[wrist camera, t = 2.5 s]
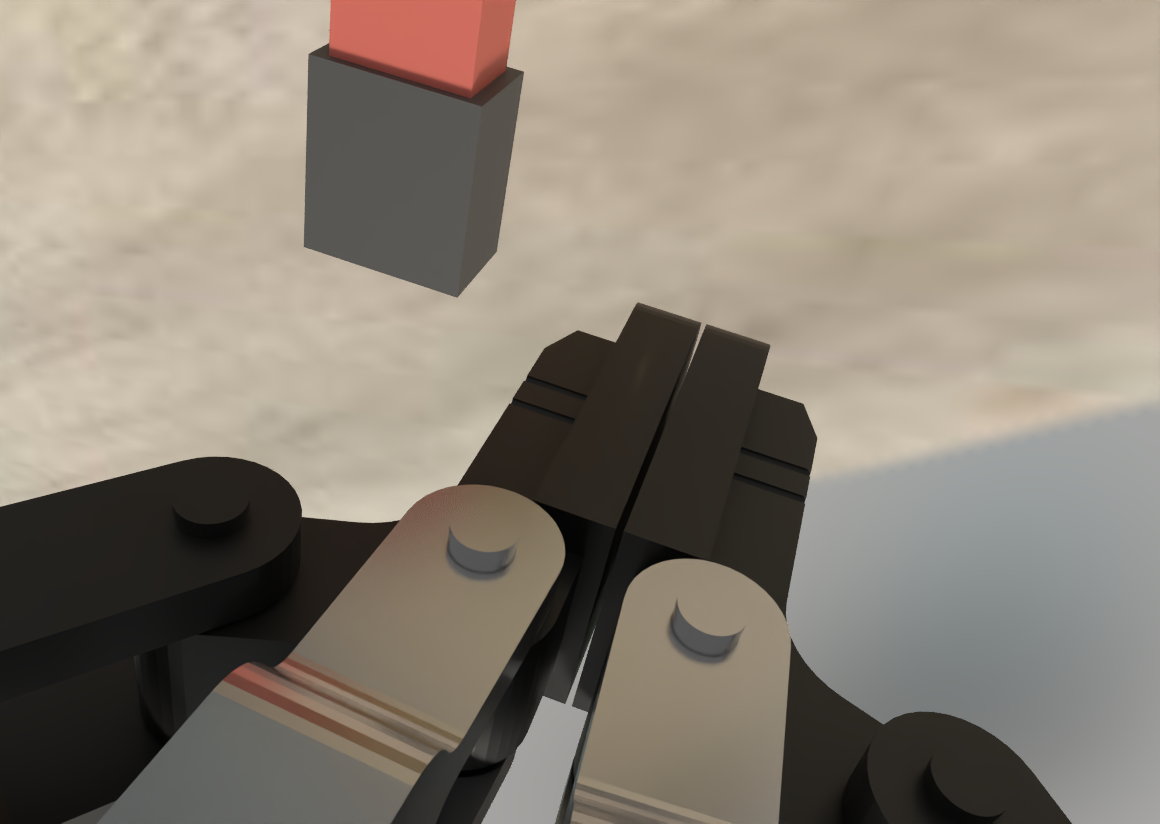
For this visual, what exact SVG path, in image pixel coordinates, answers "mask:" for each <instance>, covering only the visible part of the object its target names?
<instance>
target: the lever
mask: <svg viewBox="0 0 1160 824" xmlns="http://www.w3.org/2000/svg"><path fill="white" fill-rule="evenodd" d="M515 3H516V0H331V13H330V41H329V43H328V44H327V45H325V46H323V47H321V48H319V49H317V50H315V51H313V52H312V53H310V54H309V59H308V100H307V141H306V183H305V224H304V247H306V248H309V249H312V250H315V251H318V252H321V253H324V254H327V255H330V256H333V257H336V258H339V259H342V260H345V261H348V262H351V263H354V264H357V265H360V266H363V267H366V268H369V269H372V270H375V271H378V272H382V273H385V274H388V275H391V276H394V277H397V278H400V279H403V280H406V281H409V282H412V283H415V284H418V285H421V286H424V287H427V288H430V289H433V290H436V291H439V292H442V293H445V294H448V295H451V296H454V297H458V296H459V295H460V294H461V293H462V291H463V290H464V289H465V288H466V287H467V286H468V284H469V283H470V282H471V281H472V280H473V279H474V277H475V276H476V275H477V274H478V273H479V272H480V270H481V269H482V268H483V267H484V266H485V265H486V263H487V262H488V261H489V260H490V259H491V258H492V256H493V255H494V254H495V253H496V252H497V245H498V239H499V232H500V226H501V219H502V213H503V206H504V199H505V193H506V186H507V180H508V173H509V167H510V160H511V153H512V147H513V140H514V134H515V127H516V121H517V114H518V108H519V101H520V94H521V88H522V81H523V75H524V72H523V71H519V70H516V69H513V68H509V67H507V59H508V52H509V45H510V38H511V31H512V24H513V17H514V10H515Z"/></svg>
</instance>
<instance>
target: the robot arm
mask: <svg viewBox="0 0 1160 824" xmlns="http://www.w3.org/2000/svg"><path fill="white" fill-rule="evenodd" d="M700 326H701V323H700V322H697V321H694V320H691V319H688V318H685V317H682V316H679V315H676V314H672V313H669V312H666V311H663V310H660V309H657V308H654V307H651V306H648V305H644V304H641V303H637V304H636V306H635V308H634V309H633V311H632V313H631V315H630V317H629V319H628V321H627V323H626V324H625V326H624V328H623V330H622V332H621V334H620V336H619V338H618V340H617V341H616V343H615V342H612V341H609V340H606V339H603V338H600V337H597V336H593V335H590V334H587V333H584V332H581V331H576V332H574V333H572V334H570V335H568V336H566V337H565V338H563V339H561V340H559V341H557V342H555V343H553V344H551V345H550V346H548V347H546V348H544V350H543V352H542V353H541V355H540V356H539V358H538V360H537V361H536V363H535V364H534V366H533V367H532V369H531V371H530V372H529V374H528V375H527V379H526V381H524V382H523V383H522V385H521V386H520V388H519V389H518V391H517V393H516V394H515V396H514V397H513V400H512V403H511V404H509V405H508V407H507V408H506V410H505V411H504V413H503V415H502V416H501V418H500V419H499V421H498V423H497V424H496V426H495V427H494V429H493V430H492V432H491V434H490V435H489V437H488V438H487V440H486V441H485V443H484V445H483V446H482V448H481V449H480V451H479V452H478V454H477V456H476V457H475V459H474V460H473V462H472V463H471V465H470V467H469V468H468V470H467V471H466V473H465V475H464V476H463V478H462V479H461V481H460V482H459V484H458V486H452V487H447V488H444V489H441V490H437V491H435V492H433V493H431V494H429V495H426V496H425V497H423V498H422V499H420V500H419V501H418V502H416V503H415V504H414V505H413V506H412V507H411V508H410V509H409V510H408V511H407V513H406V514H405V515H404V516H403V517H402V519H401V520H398V521H392V522H383V523H358V522H347V521H337V520H326V519H316V518H305V517H302V508H301V504H300V500H299V497H298V495H297V493H296V491H295V490H294V489H293V487H292V486H291V485H290V484H289V482H288V481H287V480H285V479H284V478H283V477H282V476H281V475H279V474H278V473H276V472H275V471H273V470H271V469H269V468H268V467H265V466H263V465H260V464H258V463H255V462H251V461H247V460H244V459H238V458H231V457H203V458H195V459H189V460H184V461H180V462H176V463H172V464H168V465H164V466H160V467H156V468H152V469H148V470H144V471H140V472H136V473H132V474H128V475H125V476H121V477H117V478H113V479H109V480H105V481H101V482H97V483H93V484H89V485H85V486H81V487H77V488H73V489H69V490H65V491H61V492H57V493H53V494H49V495H45V496H42V497H38V498H34V499H30V500H26V501H22V502H18V503H14V504H10V505H6V506H2V507H0V824H481V823H482V821H483V819H484V817H485V815H486V814H487V812H488V810H489V808H490V806H491V804H492V802H493V800H494V798H495V796H496V794H497V792H498V791H499V788H500V787H501V785H502V783H503V781H504V779H505V777H506V775H507V773H508V771H509V769H510V767H511V765H512V762H513V760H514V757H515V753H516V749H517V747H518V746H519V745H520V744H521V743H522V741H523V740H524V738H525V736H526V734H527V732H528V730H529V727H530V725H531V723H532V720H533V718H534V715H535V713H536V711H537V708H538V706H539V703H540V701H541V699H542V696H545V697H548V698H551V699H553V700H556V701H559V702H561V703H564V704H565V703H566V701H567V698H568V695H569V693H570V690H571V687H572V685H573V683H574V680H575V677H576V675H577V672H578V670H579V667H580V665H581V662H582V659H583V657H584V654H585V652H586V649H587V646H588V644H589V641H590V639H591V636H592V634H593V631H594V634H593V637H592V641H591V644H590V647H589V650H588V654H587V657H586V660H585V664H584V667H583V671H582V674H581V677H580V681H579V684H578V688H577V691H576V694H575V698H574V702H573V705H572V706H573V707H576V708H578V709H581V710H584V711H587V712H588V715H587V718H586V721H585V725H584V728H583V731H582V734H581V737H580V740H579V743H578V747H577V750H576V754H575V757H574V759H573V763H572V766H571V769H570V772H569V775H568V779H567V782H566V785H565V788H564V792H563V796H562V799H561V803H560V807H559V811H558V814H557V818H556V822H555V824H1072V823H1071V822H1070V821H1069V819H1068V818H1067V817H1066V815H1065V814H1064V813H1063V811H1062V810H1061V809H1060V807H1059V806H1058V805H1057V804H1056V802H1055V801H1054V800H1053V799H1052V797H1051V796H1050V794H1049V793H1048V792H1047V790H1046V789H1045V788H1044V786H1043V785H1042V784H1041V783H1040V781H1039V780H1038V779H1037V777H1036V776H1035V775H1034V773H1033V772H1032V771H1031V770H1030V768H1028V766H1027V765H1026V764H1025V763H1024V761H1023V760H1022V759H1021V758H1020V757H1019V756H1018V755H1017V754H1015V753H1014V751H1012V750H1011V749H1010V748H1009V747H1008V746H1007V745H1006V744H1004V743H1003V742H1002V741H1000V740H999V739H998V738H996V737H995V736H993V735H992V734H990V733H989V732H987V731H985V730H984V729H982V728H980V727H979V726H976V725H974V724H972V723H970V722H968V721H965V720H963V719H960V718H957V717H954V716H951V715H947V714H941V713H935V712H914V713H907V714H903V715H901V716H898V717H895V718H893V719H892V720H890V721H889V722H887V723H886V724H884V725H883V724H881V723H880V722H879V721H877V720H876V719H874V718H873V717H871V716H870V715H868V714H867V713H865V712H864V711H862V710H860V709H859V708H858V707H856V706H855V705H853V704H852V703H850V702H849V701H847V700H846V699H844V698H843V697H841V696H840V695H839V694H837V693H836V692H834V691H833V690H832V689H831V688H829V687H828V686H827V685H826V684H825V683H824V682H823V681H822V680H820V679H819V678H818V677H817V676H816V675H815V673H814V672H813V671H812V670H811V669H810V668H809V667H808V666H807V664H806V663H805V661H804V660H803V659H802V657H801V655H800V654H799V652H798V651H797V649H796V647H795V645H794V643H793V641H792V639H791V636H790V632H789V628H788V624H787V620H786V603H787V597H788V592H789V586H790V581H791V576H792V570H793V565H794V559H795V555H796V548H797V544H798V539H799V533H800V528H801V523H802V517H803V512H804V507H805V504H804V502H805V499H806V496H807V490H808V485H809V480H810V476H809V475H810V472H811V469H812V464H813V458H814V453H815V448H816V442H817V436H816V434H815V431H814V429H813V426H812V424H811V421H810V419H809V417H808V414H807V412H806V409H805V407H804V404H802V403H799V402H796V401H793V400H790V399H787V398H784V397H781V396H777V395H774V394H771V393H768V392H765V391H762V390H759V389H758V387H759V384H760V380H761V377H762V373H763V370H764V366H765V363H766V359H767V356H768V352H769V349H770V344H766V343H763V342H760V341H757V340H754V339H751V338H748V337H745V336H742V335H738V334H735V333H732V332H729V331H726V330H723V329H720V328H717V327H714V326H710V325H706V327H705V329H704V332H703V334H702V337H701V339H700V342H699V344H698V347H697V349H696V352H695V354H694V357H693V359H692V362H691V364H690V360H691V357H692V354H693V351H694V347H695V344H696V341H697V337H698V334H699V330H700ZM689 364H690V367H689ZM688 367H689V369H688ZM687 370H688V372H687ZM686 373H687V374H686ZM595 626H596V627H595ZM594 629H595V630H594Z"/></svg>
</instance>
